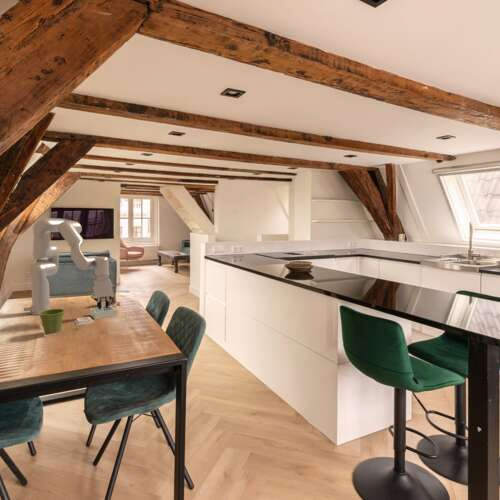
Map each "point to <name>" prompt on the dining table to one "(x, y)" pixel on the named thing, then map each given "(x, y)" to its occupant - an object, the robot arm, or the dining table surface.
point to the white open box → (102, 312)
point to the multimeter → (113, 299)
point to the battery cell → (103, 303)
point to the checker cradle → (83, 320)
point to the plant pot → (52, 320)
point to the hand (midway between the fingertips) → (103, 307)
